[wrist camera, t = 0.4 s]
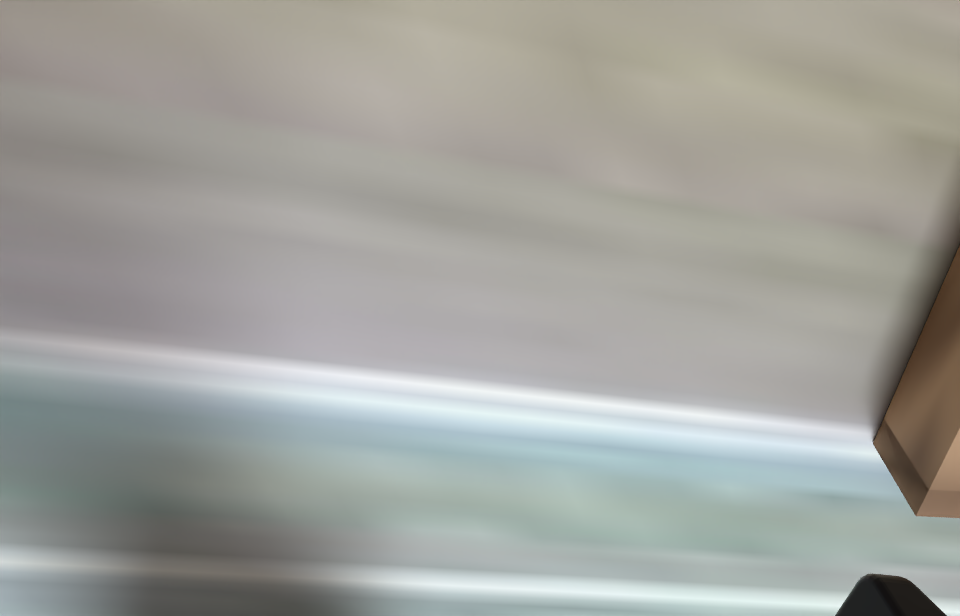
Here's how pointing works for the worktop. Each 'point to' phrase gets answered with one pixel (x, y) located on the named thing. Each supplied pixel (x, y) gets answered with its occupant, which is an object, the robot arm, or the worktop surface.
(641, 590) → the worktop surface
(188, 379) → the worktop surface
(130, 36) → the worktop surface
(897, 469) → the bay
